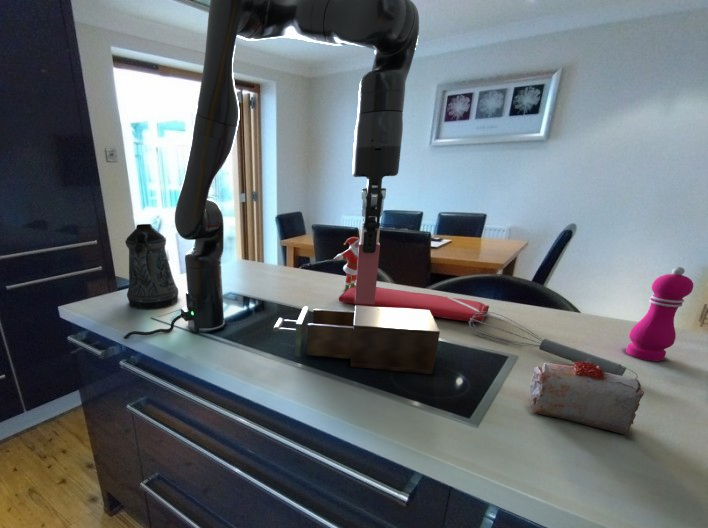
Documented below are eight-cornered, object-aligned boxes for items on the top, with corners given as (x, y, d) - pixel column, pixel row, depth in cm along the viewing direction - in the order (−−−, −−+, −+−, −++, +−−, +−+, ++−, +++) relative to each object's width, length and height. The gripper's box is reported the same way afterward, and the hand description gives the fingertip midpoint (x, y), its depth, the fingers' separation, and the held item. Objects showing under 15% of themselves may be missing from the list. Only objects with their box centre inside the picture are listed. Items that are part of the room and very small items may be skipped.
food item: (525, 414, 67) (540, 363, 63) (525, 394, 73) (539, 346, 69) (630, 441, 60) (654, 385, 56) (621, 416, 66) (642, 364, 62)
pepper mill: (655, 350, 89) (691, 264, 82) (674, 364, 83) (715, 272, 75) (616, 347, 92) (648, 262, 84) (632, 359, 85) (668, 269, 78)
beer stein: (169, 292, 140) (162, 220, 130) (189, 306, 125) (182, 226, 115) (123, 299, 132) (111, 223, 123) (137, 315, 117) (125, 230, 107)
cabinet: (350, 366, 84) (353, 325, 80) (352, 342, 96) (355, 305, 93) (432, 374, 80) (440, 331, 77) (423, 348, 92) (429, 310, 89)
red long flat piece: (357, 291, 138) (358, 281, 136) (488, 312, 115) (490, 300, 114) (338, 302, 126) (338, 291, 125) (479, 328, 104) (481, 315, 102)
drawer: (270, 354, 88) (270, 321, 85) (280, 334, 100) (281, 305, 97) (366, 363, 84) (369, 329, 81) (366, 341, 95) (369, 310, 92)
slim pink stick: (354, 303, 73) (360, 223, 68) (354, 298, 76) (360, 221, 71) (374, 304, 73) (382, 223, 67) (374, 299, 75) (381, 221, 70)
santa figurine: (341, 299, 129) (345, 242, 122) (325, 296, 132) (328, 241, 125) (373, 284, 147) (378, 233, 139) (358, 281, 150) (363, 232, 143)
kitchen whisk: (630, 387, 75) (642, 357, 72) (461, 334, 101) (466, 311, 98) (640, 378, 78) (652, 349, 75) (474, 329, 104) (479, 306, 101)
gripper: (354, 149, 71) (348, 244, 78) (353, 143, 59) (346, 257, 65) (397, 147, 70) (387, 245, 76) (405, 141, 57) (393, 258, 64)
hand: (368, 250), depth 71 cm, fingers closed on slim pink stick, 3 cm apart
